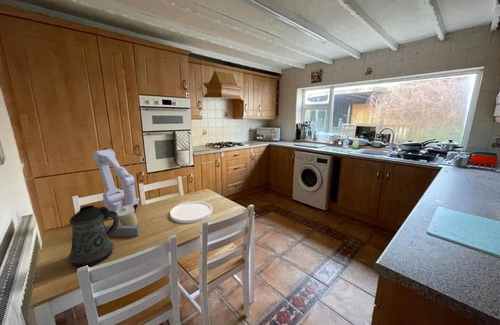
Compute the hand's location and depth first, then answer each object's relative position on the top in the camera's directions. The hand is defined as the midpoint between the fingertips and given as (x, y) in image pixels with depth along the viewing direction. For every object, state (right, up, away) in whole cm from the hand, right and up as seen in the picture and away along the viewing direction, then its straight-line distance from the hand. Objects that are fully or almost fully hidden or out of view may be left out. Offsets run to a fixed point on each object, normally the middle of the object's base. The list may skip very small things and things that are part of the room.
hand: (133, 216), depth 125 cm
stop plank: (0, -7, -11) cm, 13 cm away
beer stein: (-2, -11, -27) cm, 29 cm away
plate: (+32, -2, +15) cm, 35 cm away
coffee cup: (0, -4, -2) cm, 5 cm away
